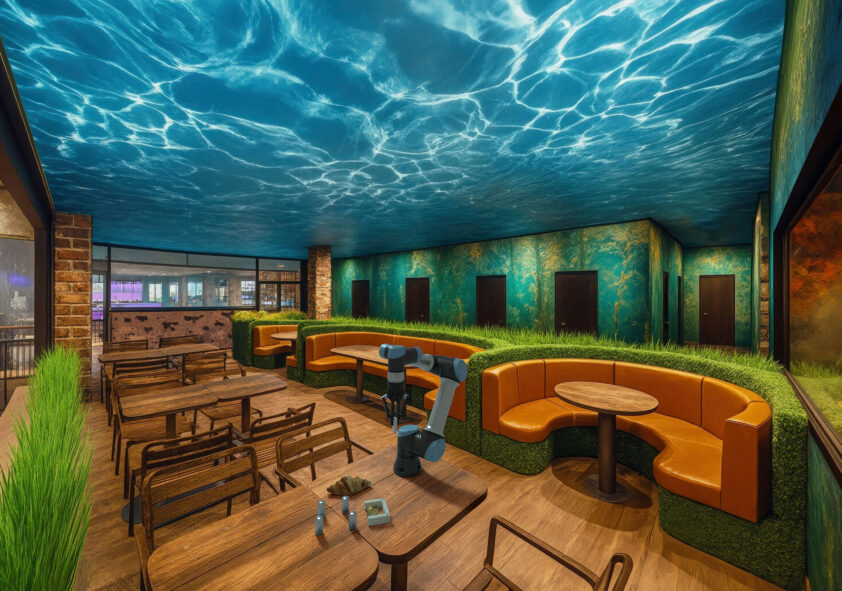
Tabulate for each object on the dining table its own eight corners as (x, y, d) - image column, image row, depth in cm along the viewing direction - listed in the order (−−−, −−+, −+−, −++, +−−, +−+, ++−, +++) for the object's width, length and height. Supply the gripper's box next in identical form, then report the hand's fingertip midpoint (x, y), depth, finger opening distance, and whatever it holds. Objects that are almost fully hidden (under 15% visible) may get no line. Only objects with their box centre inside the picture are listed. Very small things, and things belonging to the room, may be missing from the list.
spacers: (315, 514, 147) (315, 500, 147) (353, 508, 152) (353, 494, 152) (315, 537, 134) (315, 521, 134) (356, 529, 138) (357, 515, 138)
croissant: (369, 490, 172) (367, 472, 175) (374, 490, 163) (372, 471, 167) (325, 498, 163) (324, 479, 167) (328, 499, 155) (328, 479, 158)
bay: (364, 507, 152) (364, 501, 152) (384, 504, 155) (384, 498, 155) (368, 526, 141) (368, 518, 141) (389, 522, 143) (390, 515, 143)
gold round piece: (366, 513, 149) (366, 504, 149) (376, 511, 150) (377, 503, 150) (368, 520, 144) (368, 511, 144) (378, 518, 146) (379, 509, 146)
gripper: (383, 383, 149) (381, 437, 150) (412, 381, 153) (410, 434, 154) (379, 379, 156) (378, 430, 157) (407, 377, 160) (406, 427, 161)
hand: (394, 432), depth 155 cm, fingers closed
